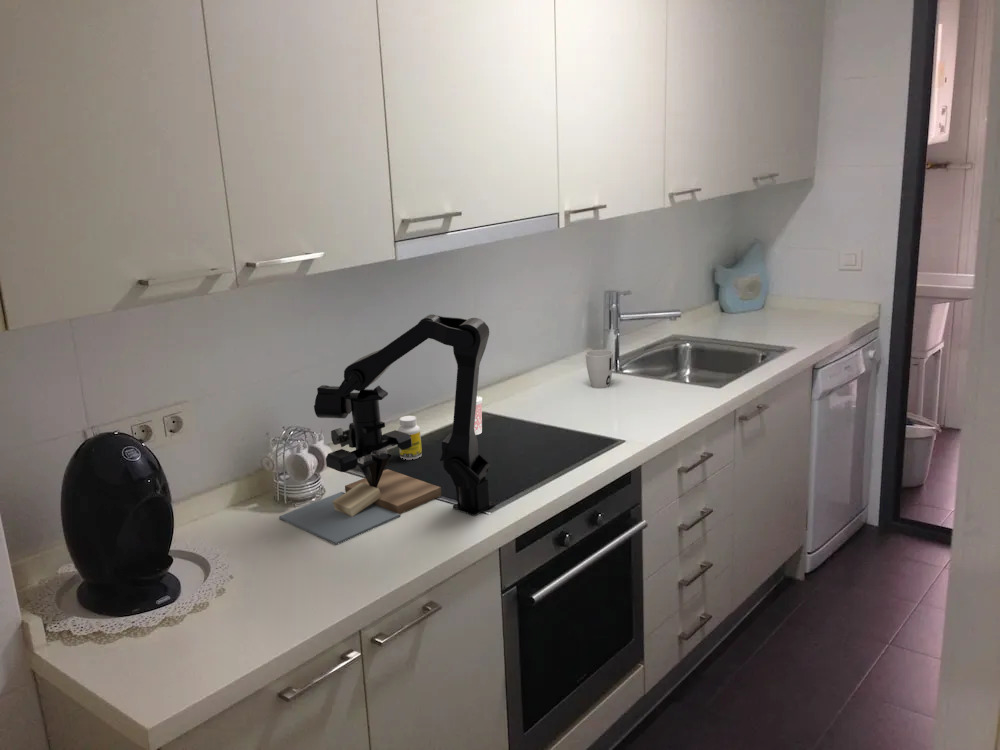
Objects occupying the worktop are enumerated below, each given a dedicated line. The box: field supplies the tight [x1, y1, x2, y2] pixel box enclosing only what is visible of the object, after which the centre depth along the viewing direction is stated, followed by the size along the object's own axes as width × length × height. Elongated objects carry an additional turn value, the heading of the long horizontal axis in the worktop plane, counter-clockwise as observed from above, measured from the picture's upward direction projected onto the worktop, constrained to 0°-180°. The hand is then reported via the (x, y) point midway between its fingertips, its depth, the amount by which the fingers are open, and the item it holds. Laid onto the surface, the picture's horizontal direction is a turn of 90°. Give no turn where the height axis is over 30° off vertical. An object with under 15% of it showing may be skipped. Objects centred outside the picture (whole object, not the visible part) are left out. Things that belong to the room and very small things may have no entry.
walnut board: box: [344, 468, 442, 515], centre depth 195 cm, size 18×12×2 cm, turn 46°
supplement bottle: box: [397, 415, 423, 461], centre depth 216 cm, size 5×5×10 cm
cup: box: [585, 349, 614, 389], centre depth 264 cm, size 8×8×10 cm
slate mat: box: [278, 491, 401, 546], centre depth 185 cm, size 20×16×1 cm
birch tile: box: [332, 482, 381, 517], centre depth 188 cm, size 6×8×2 cm
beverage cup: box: [474, 395, 483, 436], centre depth 230 cm, size 6×6×14 cm
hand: (373, 488), depth 191 cm, fingers closed
